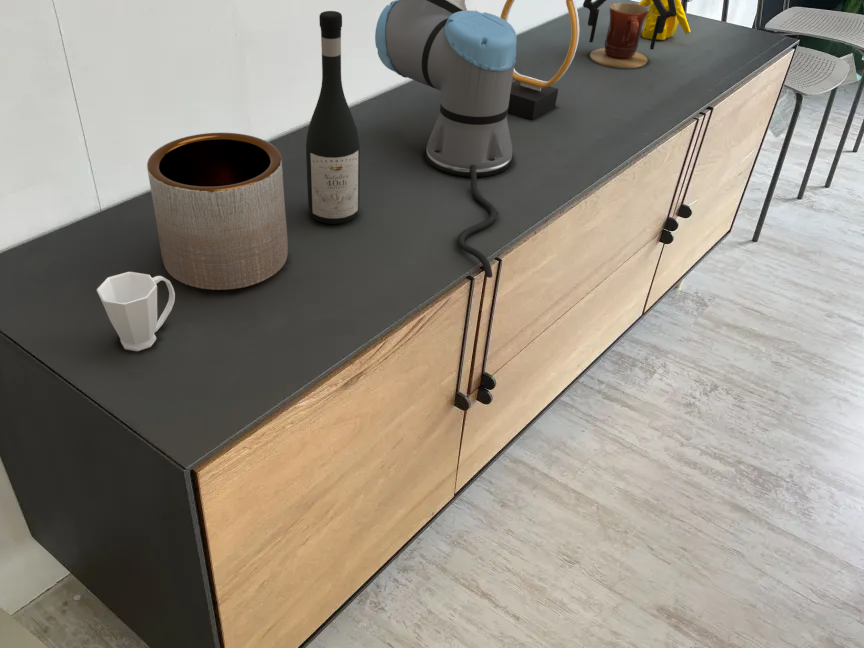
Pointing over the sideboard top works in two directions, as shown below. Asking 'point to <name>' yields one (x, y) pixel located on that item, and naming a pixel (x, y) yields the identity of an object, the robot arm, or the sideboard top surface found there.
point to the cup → (134, 307)
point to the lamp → (532, 93)
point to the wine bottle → (332, 138)
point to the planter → (219, 210)
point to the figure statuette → (670, 22)
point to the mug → (624, 29)
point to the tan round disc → (618, 60)
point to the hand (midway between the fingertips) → (621, 44)
